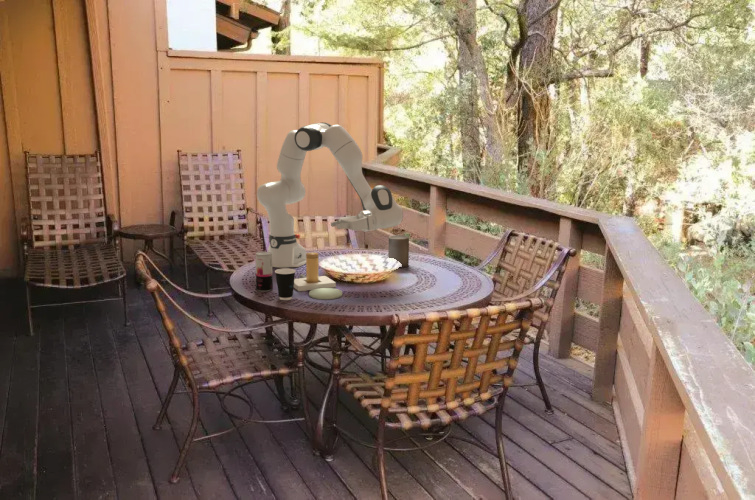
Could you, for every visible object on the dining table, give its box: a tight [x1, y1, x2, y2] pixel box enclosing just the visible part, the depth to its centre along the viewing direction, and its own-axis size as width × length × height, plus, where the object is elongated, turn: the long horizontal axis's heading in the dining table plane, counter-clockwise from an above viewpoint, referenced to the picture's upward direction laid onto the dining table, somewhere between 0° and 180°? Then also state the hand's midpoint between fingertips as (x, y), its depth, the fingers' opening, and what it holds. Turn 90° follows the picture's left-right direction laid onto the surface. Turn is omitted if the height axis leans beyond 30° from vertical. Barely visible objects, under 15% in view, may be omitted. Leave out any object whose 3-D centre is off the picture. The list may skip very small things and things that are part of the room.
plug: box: [305, 252, 320, 283], centre depth 275 cm, size 5×5×14 cm
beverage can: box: [255, 251, 274, 293], centre depth 268 cm, size 6×7×15 cm
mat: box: [308, 287, 343, 300], centre depth 263 cm, size 13×13×1 cm
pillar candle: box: [387, 234, 410, 269], centre depth 313 cm, size 10×10×15 cm
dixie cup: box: [274, 267, 297, 301], centre depth 256 cm, size 8×8×11 cm
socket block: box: [293, 273, 337, 292], centre depth 280 cm, size 16×20×2 cm
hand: (334, 225), depth 275 cm, fingers open, 8 cm apart
